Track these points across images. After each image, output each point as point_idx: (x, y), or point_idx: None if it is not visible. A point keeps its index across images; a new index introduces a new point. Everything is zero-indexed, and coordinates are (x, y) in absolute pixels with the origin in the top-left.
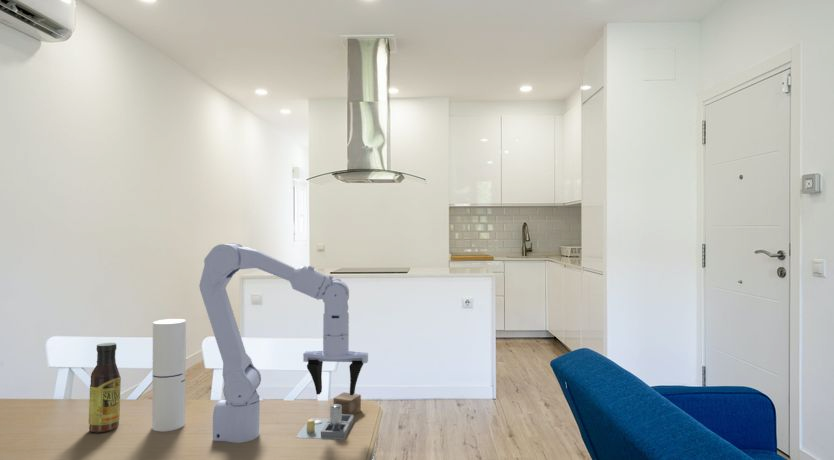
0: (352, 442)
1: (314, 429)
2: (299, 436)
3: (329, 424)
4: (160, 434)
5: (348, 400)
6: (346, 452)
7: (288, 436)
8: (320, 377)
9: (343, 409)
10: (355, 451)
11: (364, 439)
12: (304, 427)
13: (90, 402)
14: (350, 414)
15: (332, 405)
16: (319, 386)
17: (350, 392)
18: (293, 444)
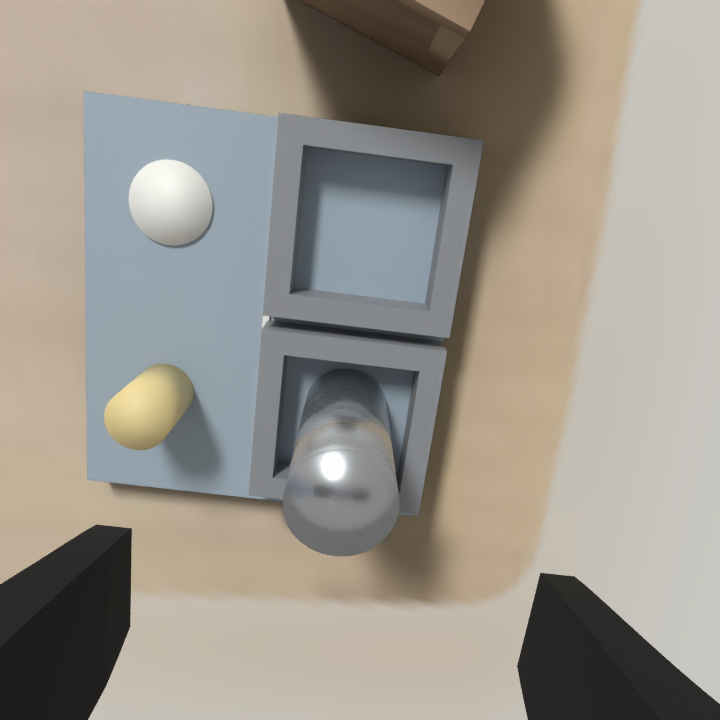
0: (461, 482)
1: (189, 401)
2: (110, 464)
3: (289, 355)
4: None
5: (440, 17)
6: (430, 604)
7: (25, 374)
8: (3, 711)
9: (375, 14)
10: (480, 595)
11: (538, 442)
12: (97, 307)
13: None
14: (448, 138)
15: (303, 490)
16: (82, 689)
17: (533, 705)
18: (100, 495)
